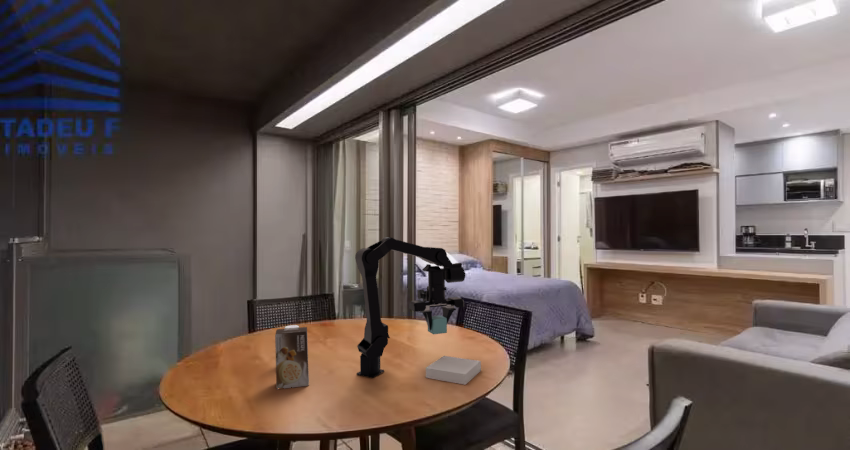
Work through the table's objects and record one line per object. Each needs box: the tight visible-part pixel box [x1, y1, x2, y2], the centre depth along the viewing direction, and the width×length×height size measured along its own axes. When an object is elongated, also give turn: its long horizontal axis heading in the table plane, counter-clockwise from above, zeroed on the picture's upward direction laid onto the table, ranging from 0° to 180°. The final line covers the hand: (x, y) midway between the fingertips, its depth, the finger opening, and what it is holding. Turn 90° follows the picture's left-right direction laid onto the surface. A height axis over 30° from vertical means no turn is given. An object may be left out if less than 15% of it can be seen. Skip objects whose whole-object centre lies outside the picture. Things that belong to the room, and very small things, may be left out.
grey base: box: [425, 355, 482, 385], centre depth 123 cm, size 13×13×3 cm
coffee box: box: [274, 326, 310, 390], centre depth 118 cm, size 9×6×16 cm
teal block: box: [427, 315, 448, 335], centre depth 137 cm, size 5×5×5 cm
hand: (437, 329), depth 137 cm, fingers closed on teal block, 5 cm apart
